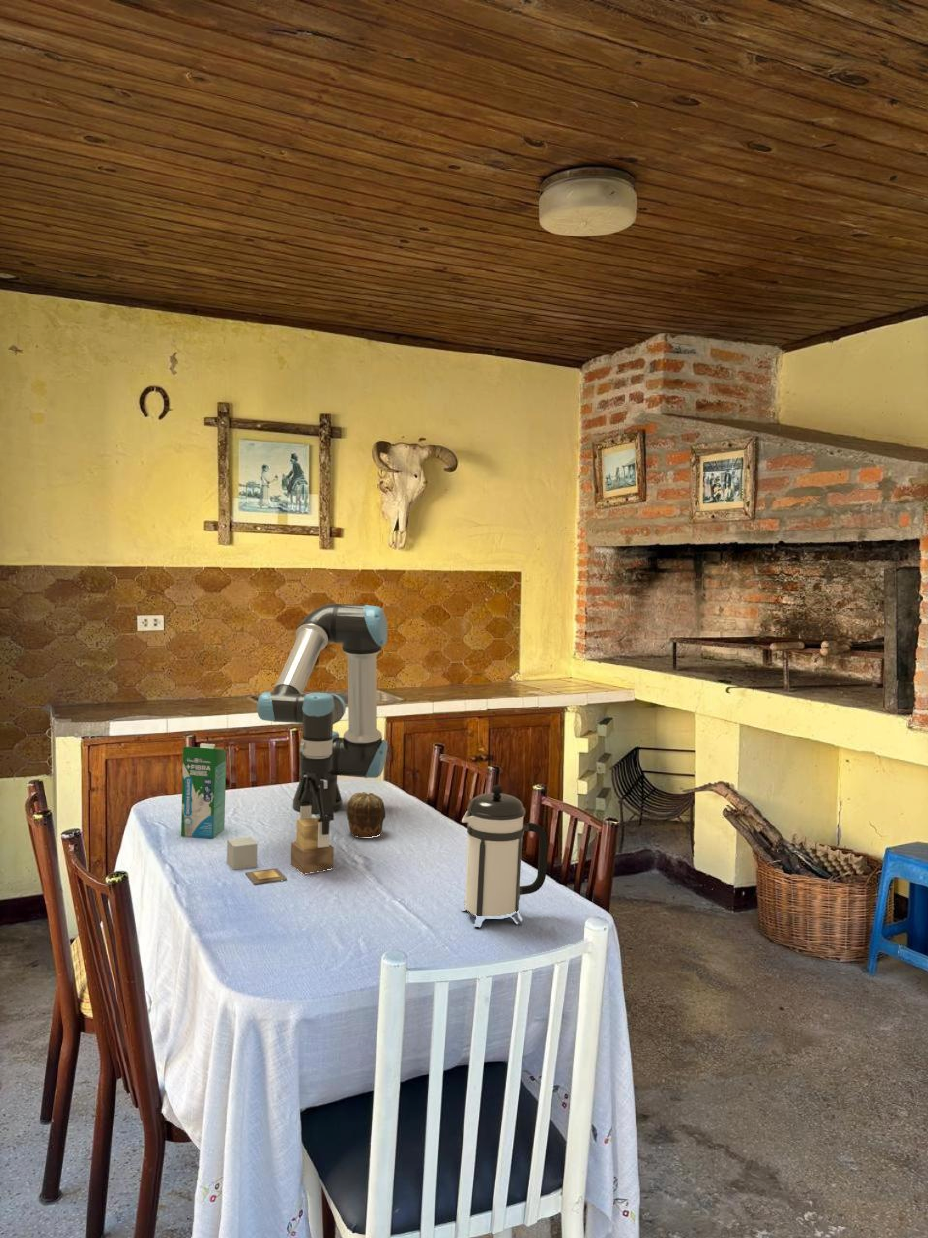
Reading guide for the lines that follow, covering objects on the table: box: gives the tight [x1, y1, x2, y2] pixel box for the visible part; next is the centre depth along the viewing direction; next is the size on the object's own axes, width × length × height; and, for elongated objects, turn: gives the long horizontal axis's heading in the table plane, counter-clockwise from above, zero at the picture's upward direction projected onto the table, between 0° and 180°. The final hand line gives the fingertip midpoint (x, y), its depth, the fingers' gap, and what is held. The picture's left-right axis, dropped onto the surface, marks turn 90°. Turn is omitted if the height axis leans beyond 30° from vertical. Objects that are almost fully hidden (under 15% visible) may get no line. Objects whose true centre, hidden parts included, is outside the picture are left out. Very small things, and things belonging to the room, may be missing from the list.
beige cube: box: [226, 836, 258, 871], centre depth 230 cm, size 6×6×6 cm
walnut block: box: [290, 841, 335, 875], centre depth 230 cm, size 8×8×6 cm
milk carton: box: [180, 743, 227, 839], centre depth 253 cm, size 9×9×25 cm
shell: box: [346, 791, 386, 837], centre depth 258 cm, size 11×11×12 cm
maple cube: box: [295, 816, 326, 850], centre depth 230 cm, size 6×6×6 cm
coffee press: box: [461, 784, 549, 916], centre depth 203 cm, size 17×16×30 cm
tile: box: [245, 867, 288, 886], centre depth 222 cm, size 8×8×1 cm
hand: (314, 838), depth 231 cm, fingers open, 13 cm apart
